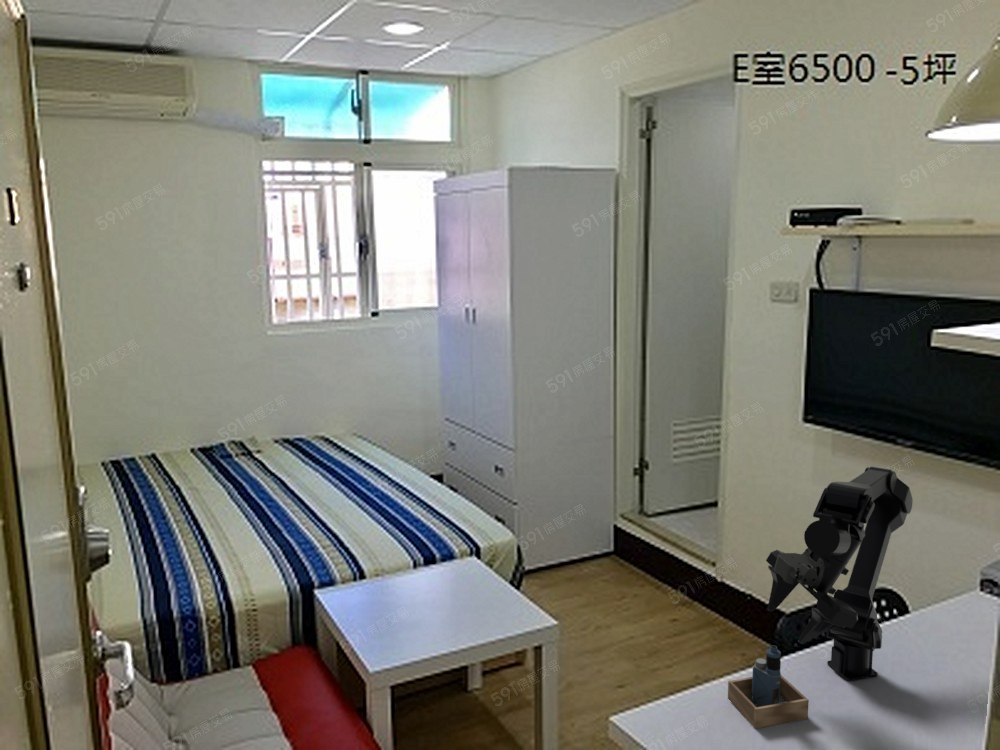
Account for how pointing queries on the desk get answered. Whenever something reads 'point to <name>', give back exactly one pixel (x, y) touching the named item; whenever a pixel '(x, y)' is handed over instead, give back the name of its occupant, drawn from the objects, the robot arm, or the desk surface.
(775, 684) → the vaping device
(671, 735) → the desk surface
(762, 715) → the box
